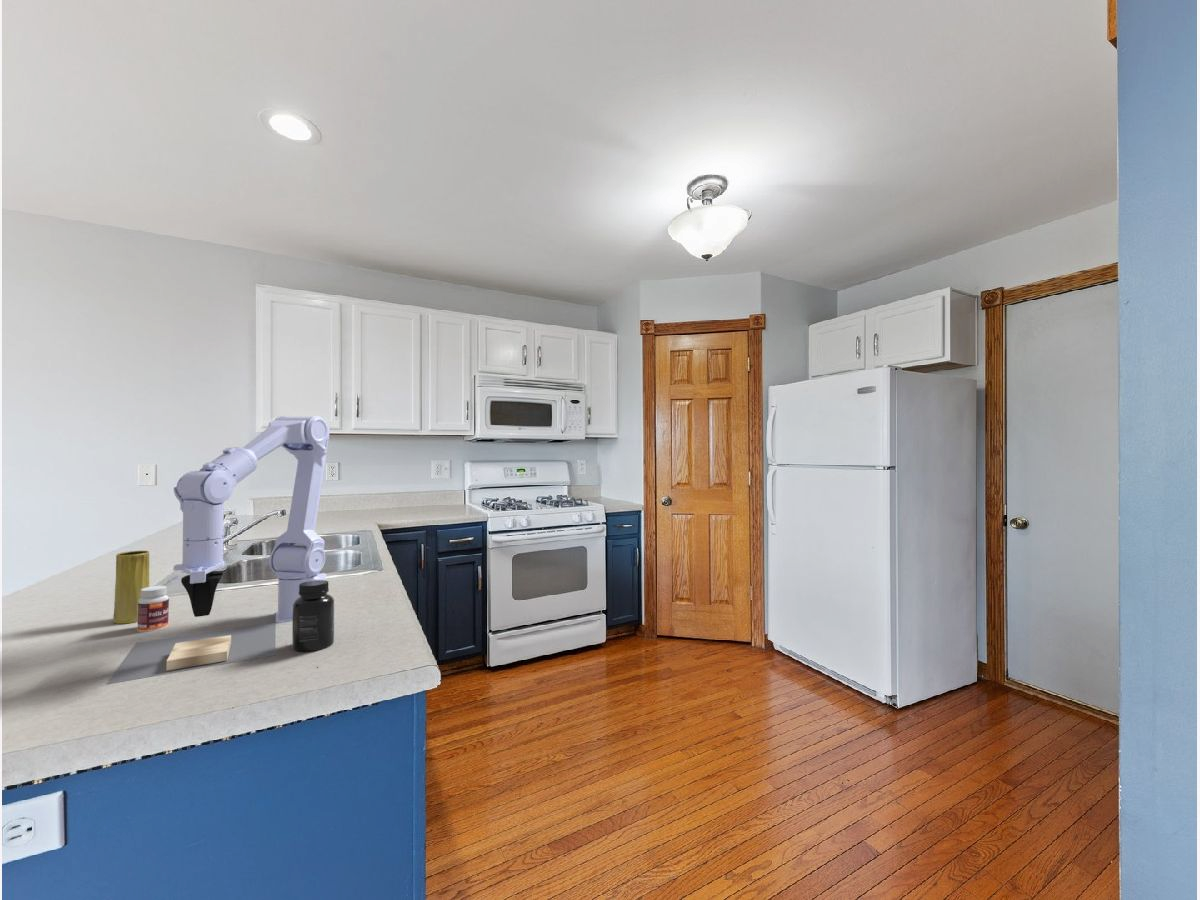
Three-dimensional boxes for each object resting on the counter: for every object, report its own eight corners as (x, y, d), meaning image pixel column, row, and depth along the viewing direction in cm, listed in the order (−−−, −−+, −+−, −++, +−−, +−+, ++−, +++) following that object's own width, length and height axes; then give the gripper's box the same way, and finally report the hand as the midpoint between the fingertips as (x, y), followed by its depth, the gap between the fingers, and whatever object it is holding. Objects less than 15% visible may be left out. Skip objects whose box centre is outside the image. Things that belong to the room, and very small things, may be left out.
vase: (128, 615, 113) (129, 550, 113) (158, 614, 113) (159, 550, 113) (104, 624, 107) (105, 555, 107) (136, 624, 107) (136, 555, 107)
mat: (275, 624, 108) (275, 622, 108) (275, 657, 91) (275, 655, 91) (136, 644, 96) (136, 642, 96) (106, 686, 79) (106, 684, 79)
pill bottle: (150, 634, 101) (150, 591, 101) (131, 632, 102) (131, 590, 102) (174, 626, 106) (175, 585, 106) (156, 624, 107) (156, 584, 107)
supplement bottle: (342, 643, 98) (343, 580, 98) (311, 656, 91) (312, 589, 91) (314, 638, 100) (315, 577, 100) (283, 651, 94) (283, 585, 94)
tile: (231, 635, 96) (227, 651, 88) (231, 644, 96) (226, 661, 88) (175, 643, 91) (166, 660, 84) (175, 653, 91) (166, 671, 84)
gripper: (181, 534, 95) (180, 607, 95) (166, 547, 83) (165, 631, 83) (228, 531, 99) (227, 602, 99) (220, 543, 87) (219, 623, 87)
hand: (202, 615), depth 91 cm, fingers closed
